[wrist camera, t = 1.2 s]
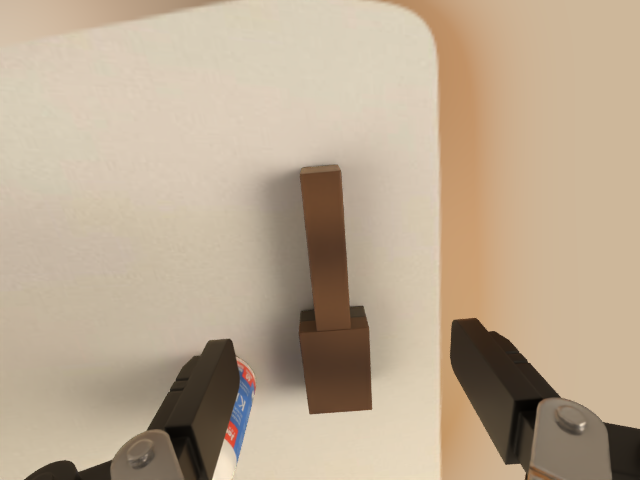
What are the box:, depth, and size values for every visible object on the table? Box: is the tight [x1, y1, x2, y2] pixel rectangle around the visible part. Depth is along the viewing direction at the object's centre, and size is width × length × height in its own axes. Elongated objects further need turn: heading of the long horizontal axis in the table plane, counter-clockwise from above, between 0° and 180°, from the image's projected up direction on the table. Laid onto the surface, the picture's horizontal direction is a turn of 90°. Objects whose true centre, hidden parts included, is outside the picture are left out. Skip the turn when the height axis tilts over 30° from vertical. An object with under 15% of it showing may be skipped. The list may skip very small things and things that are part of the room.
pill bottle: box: [212, 357, 256, 480], centre depth 20 cm, size 6×5×10 cm
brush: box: [299, 165, 372, 414], centre depth 21 cm, size 17×4×3 cm, turn 5°
